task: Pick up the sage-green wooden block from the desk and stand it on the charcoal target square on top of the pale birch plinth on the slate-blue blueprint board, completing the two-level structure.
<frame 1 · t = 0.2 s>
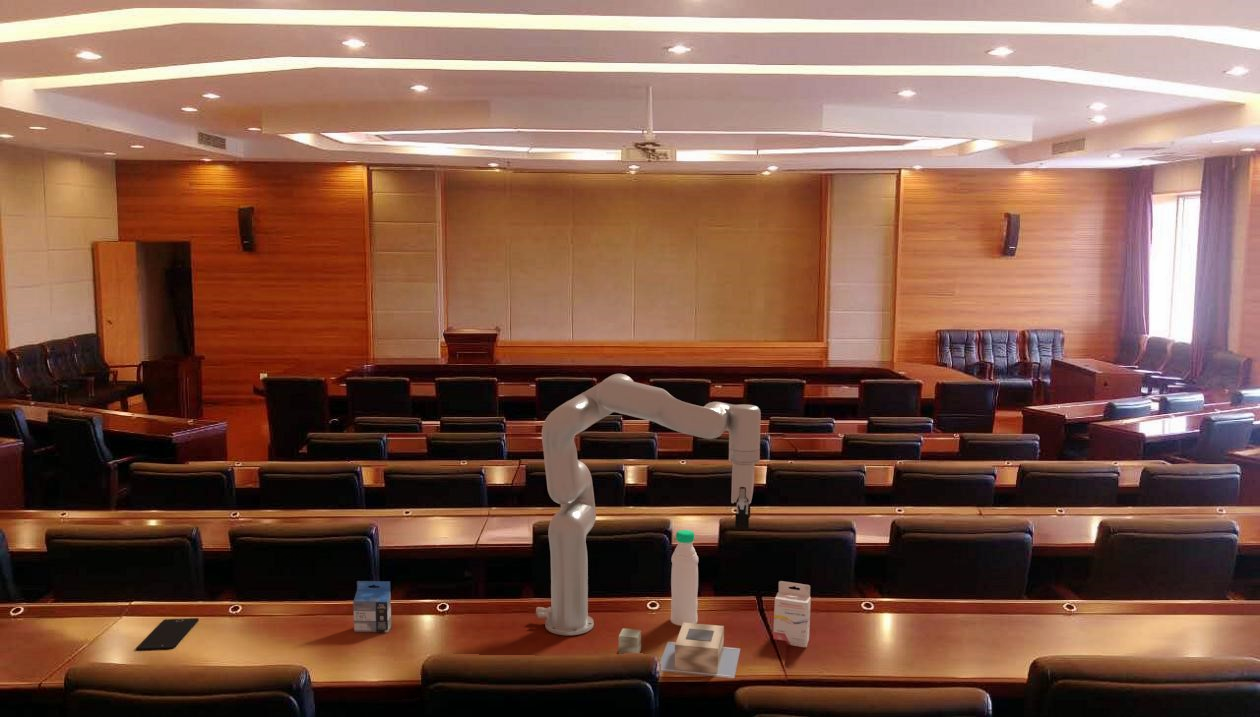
hand: (742, 523, 229), 31 cm above the table, tool pointing down, fingers open, 9 cm apart
blueprint board: (699, 663, 221), on the table
water bottle: (684, 624, 244), on the table
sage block: (629, 656, 225), on the table
ink cartridge box: (791, 642, 234), on the table
cell phone: (168, 636, 236), on the table
plinth: (699, 659, 221), resting on blueprint board
label tape cartridge: (372, 630, 239), on the table
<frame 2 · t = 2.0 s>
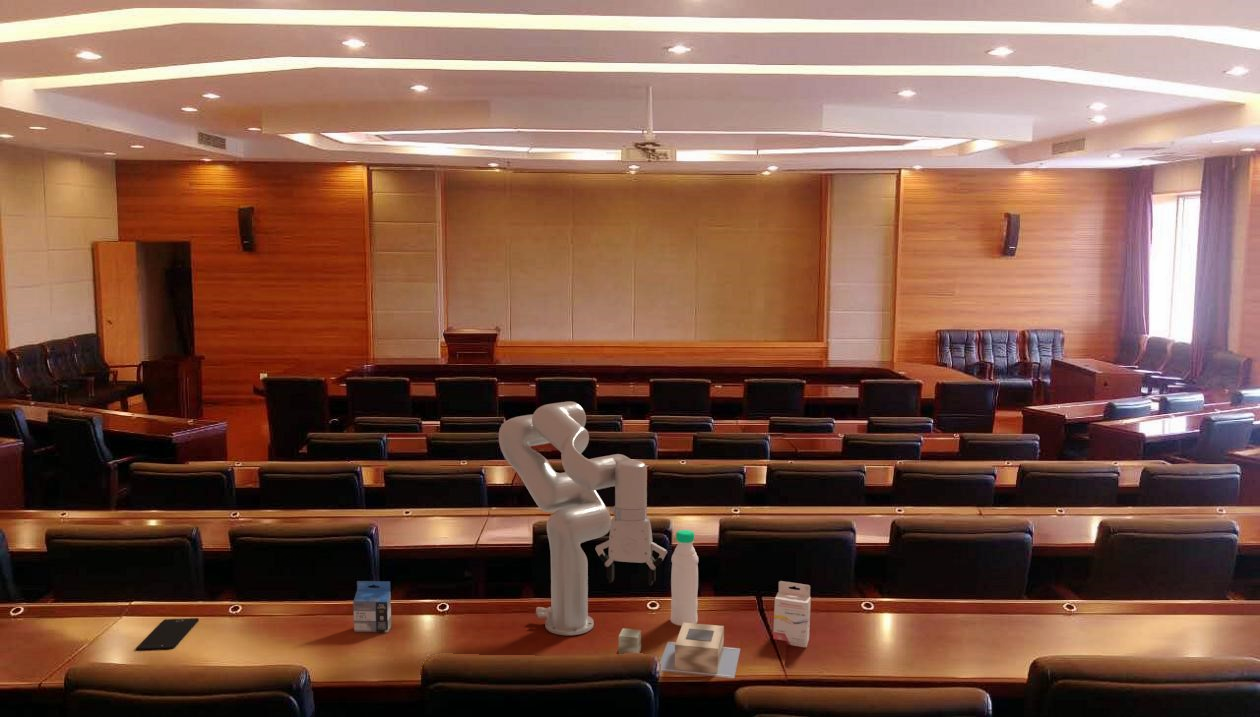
hand: (631, 582, 222), 19 cm above the table, tool pointing down, fingers open, 9 cm apart
nothing on the table moved.
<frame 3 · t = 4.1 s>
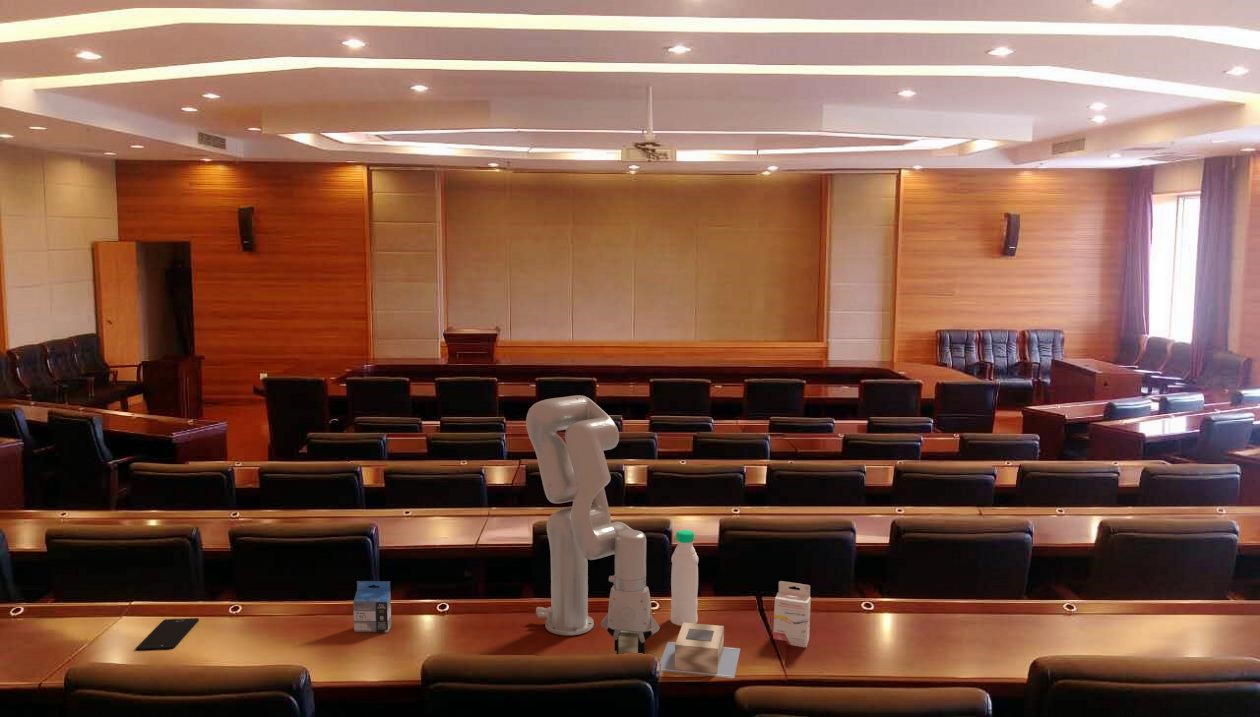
hand: (629, 654, 225), 1 cm above the table, tool pointing down, fingers closed on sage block, 4 cm apart
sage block: (629, 656, 225), on the table, touching gripper
everything else where it was.
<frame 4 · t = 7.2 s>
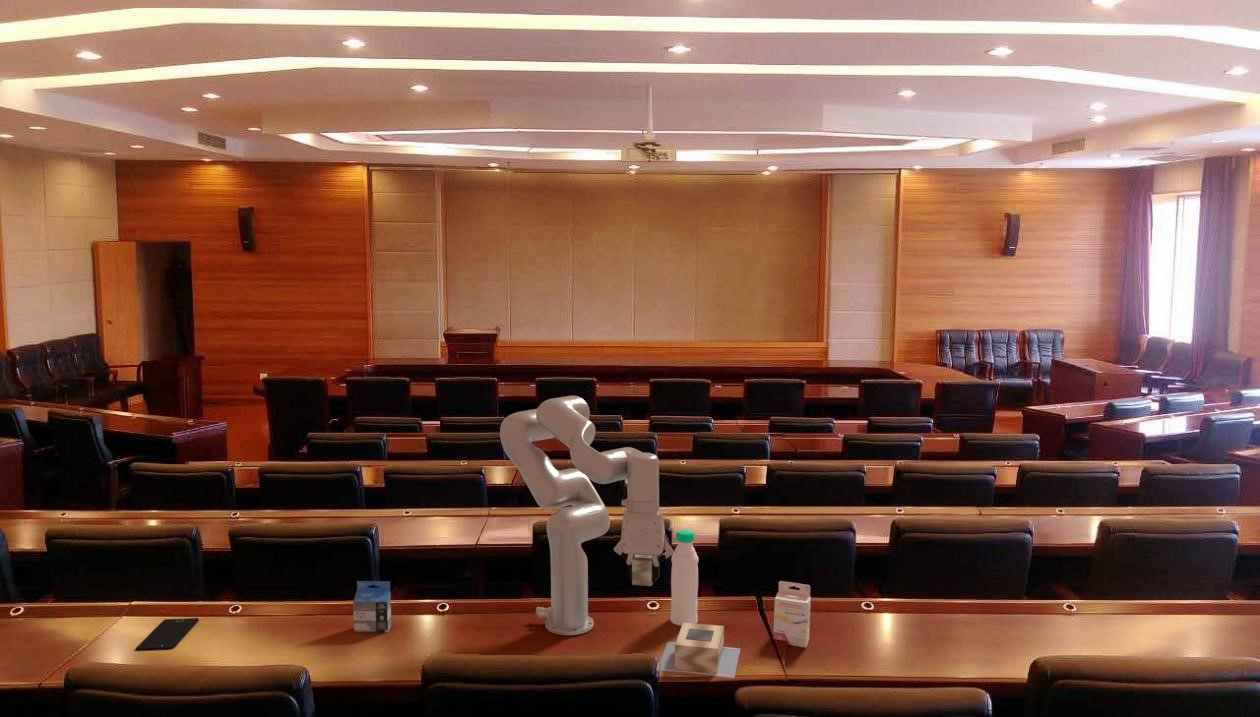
hand: (643, 579, 221), 20 cm above the table, tool pointing down, fingers closed on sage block, 4 cm apart
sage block: (643, 582, 221), point 19 cm above the table, touching gripper
everything else where it was.
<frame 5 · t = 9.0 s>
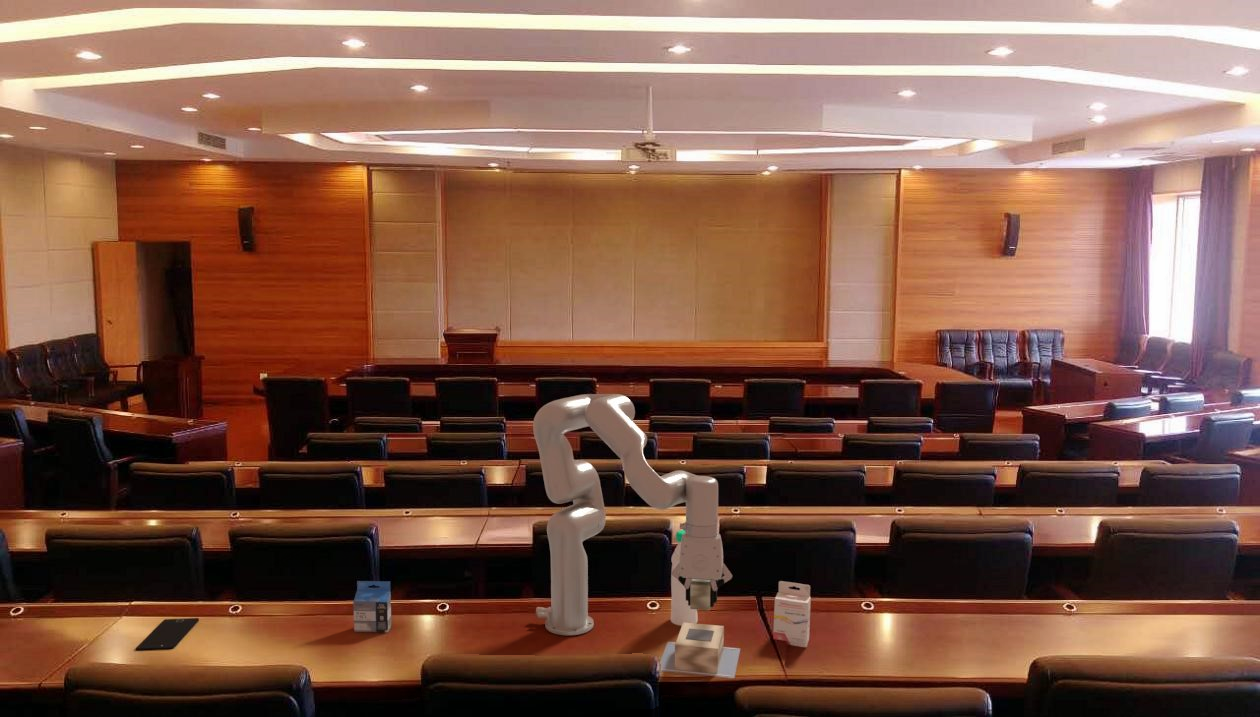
hand: (701, 603, 219), 15 cm above the table, tool pointing down, fingers closed on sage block, 4 cm apart
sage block: (701, 606, 219), point 14 cm above the table, touching gripper
everything else where it was.
when the fingers open (9 cm above the table, at t = 10.4 s): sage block stays where it is, resting on plinth.
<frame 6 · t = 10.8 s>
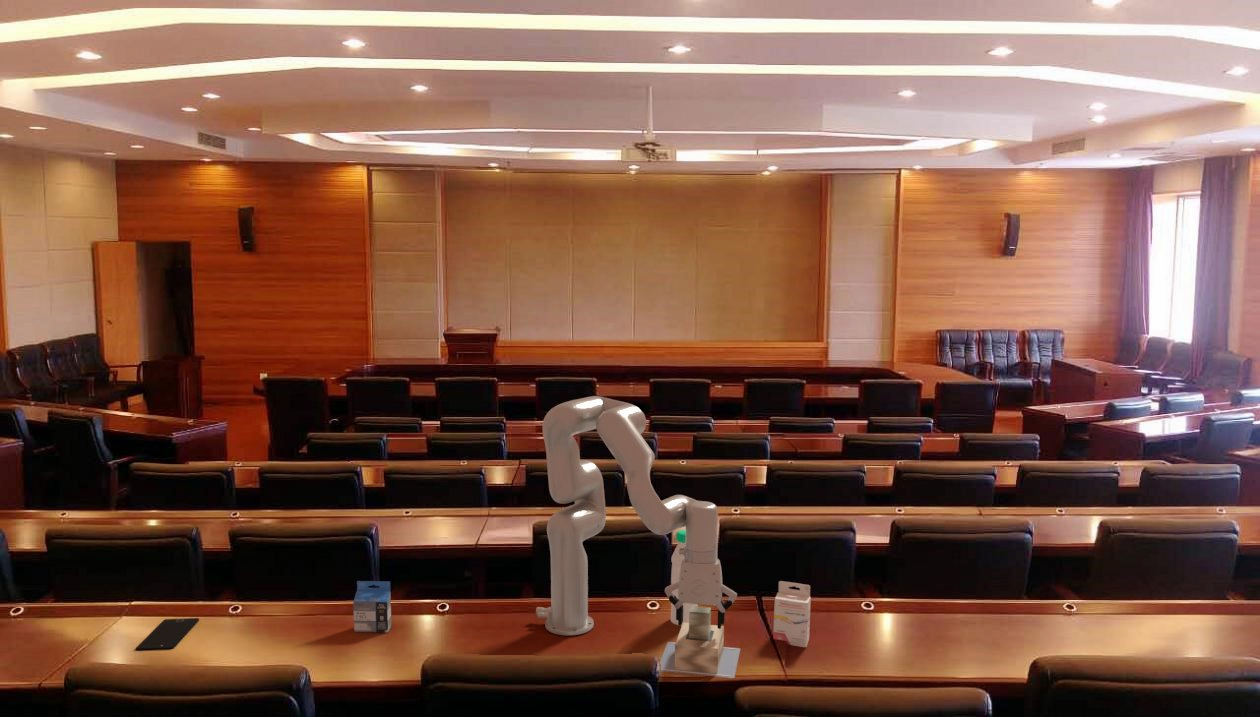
hand: (700, 624, 220), 10 cm above the table, tool pointing down, fingers open, 9 cm apart
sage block: (699, 634, 220), point 7 cm above the table, touching plinth
everything else where it was.
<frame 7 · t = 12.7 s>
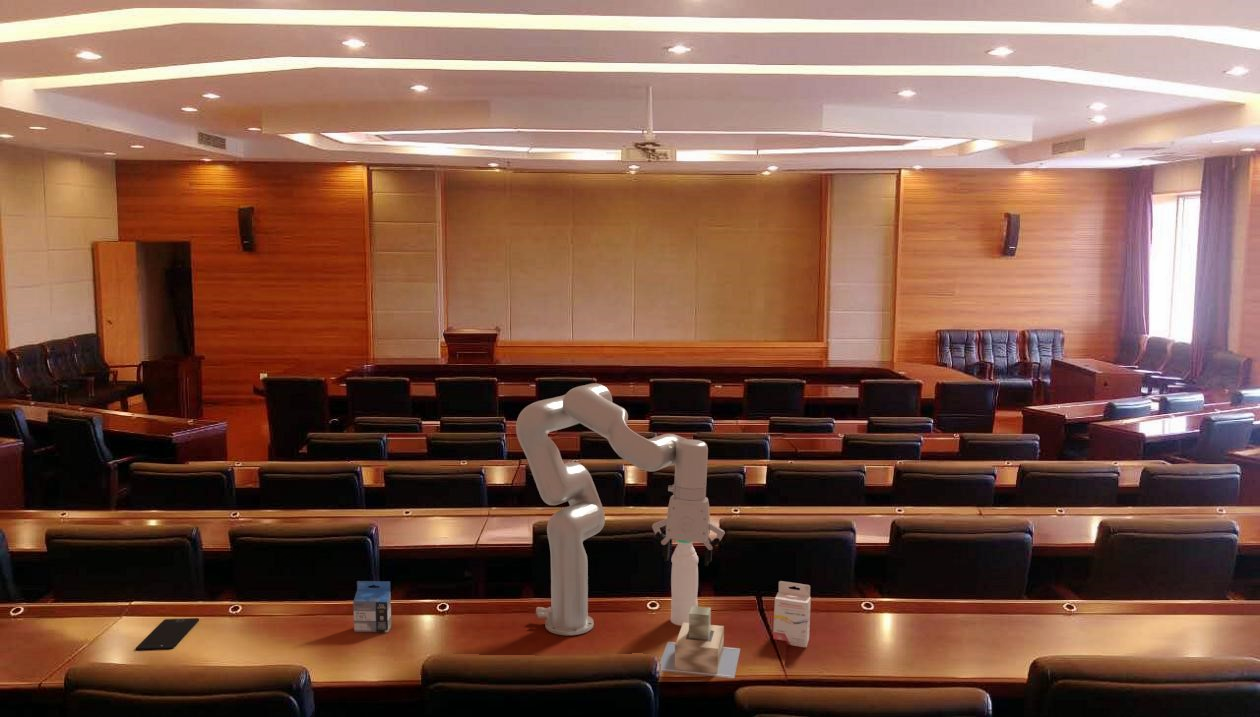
hand: (686, 561, 221), 24 cm above the table, tool pointing down, fingers open, 9 cm apart
nothing on the table moved.
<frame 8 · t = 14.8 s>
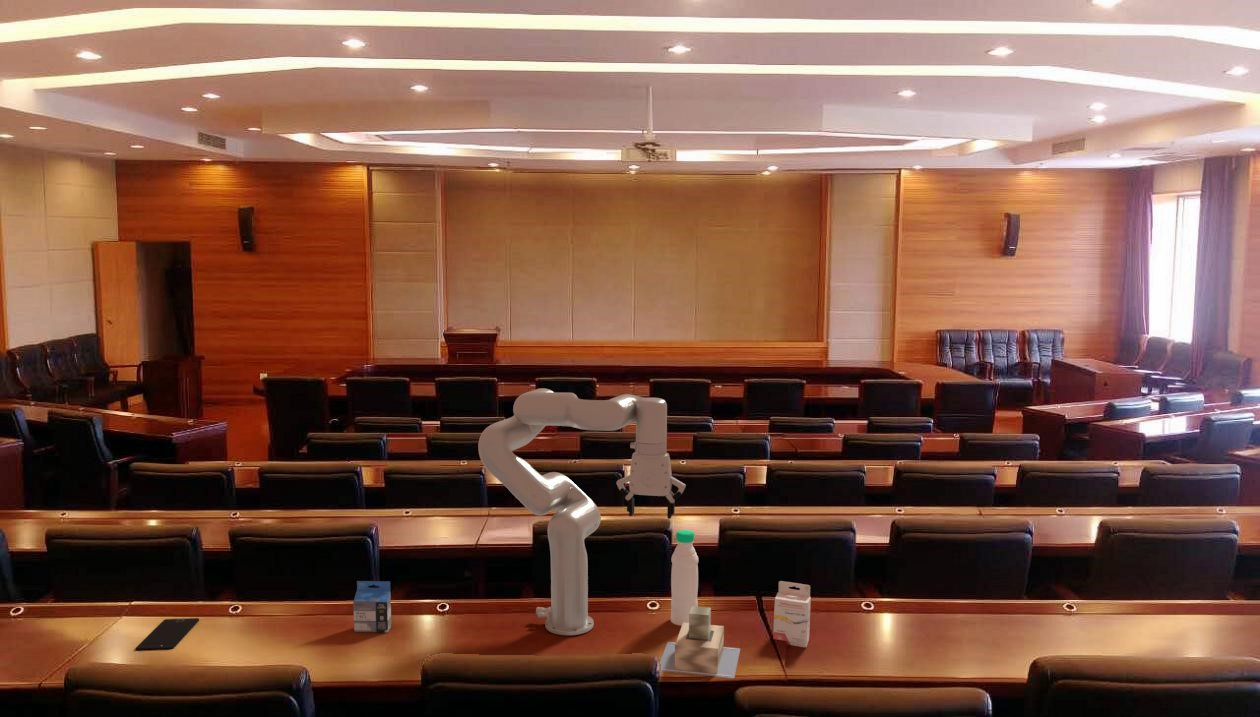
hand: (650, 515, 230), 32 cm above the table, tool pointing down, fingers open, 9 cm apart
nothing on the table moved.
at the end: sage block 0.1 cm off-centre on the plinth, point 6.1 cm above the plinth's base; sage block tilted 0°; the gripper is holding nothing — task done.
